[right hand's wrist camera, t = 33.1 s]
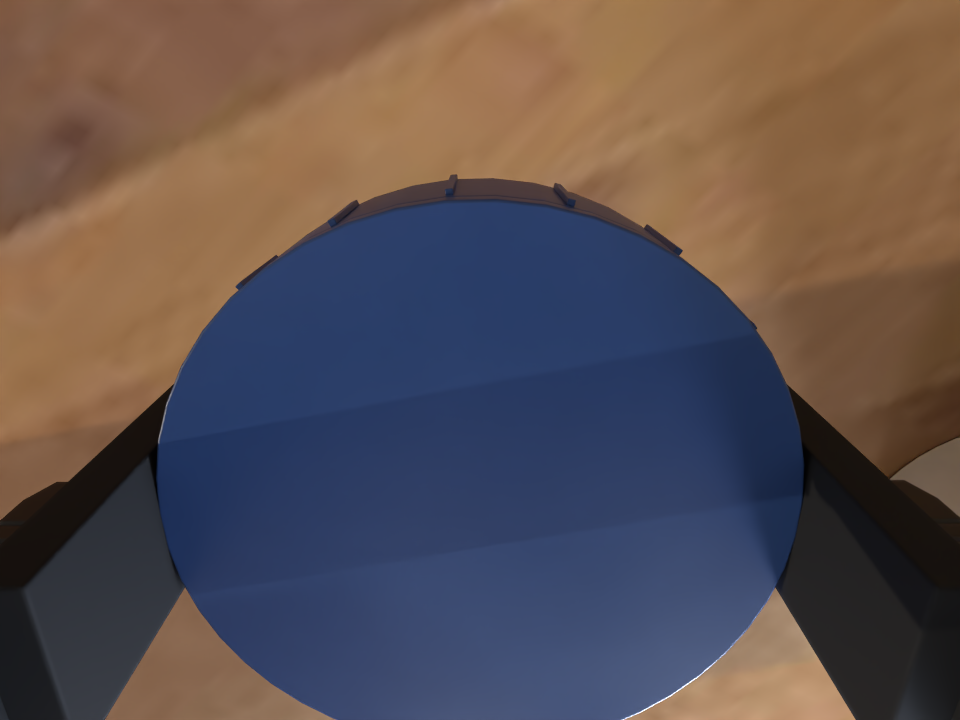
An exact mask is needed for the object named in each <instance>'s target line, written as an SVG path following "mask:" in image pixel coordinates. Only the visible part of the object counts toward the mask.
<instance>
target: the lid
mask: <svg viewBox="0 0 960 720" xmlns="http://www.w3.org/2000/svg"><path fill="white" fill-rule="evenodd" d="M682 251H683V250H681V249H680V248H679V247H677V246H676V245H675V244H673V243H672V242H671V241H669V240H668V239H667V238H665V237H664V236H663V235H661V234H660V233H659V232H657V231H656V230H654V229H653V228H652V227H650V226H649V225H646V226H645V228H643V227H642V226H640V225H638V224H636V223H635V222H633V221H631V220H629V219H628V218H626V217H624V216H623V215H621V214H619V213H617V212H616V211H614V210H612V209H610V208H609V207H606V206H604V205H601V204H599V203H596V202H594V201H592V200H589V199H587V198H584V197H582V196H579V195H577V194H574V193H572V192H568V191H567V190H566V189H565V188H564V187H563V186H562V185H561V184H557V183H555V184H554V188H552V187H548V186H544V185H540V184H536V183H530V182H521V181H512V180H503V179H494V178H488V179H458V178H457V175H451V176H450V178H449V180H446V181H439V182H433V183H427V184H421V185H415V186H410V187H407V188H404V189H401V190H397V191H394V192H391V193H387V194H384V195H381V196H378V197H374V198H372V199H370V200H368V201H366V202H364V203H362V204H359V203H358V201H357V200H355V201H353V202H351V203H350V204H349V205H347V206H346V207H345V208H343V209H342V210H341V211H340V212H338V213H337V214H336V215H335V216H333V217H332V218H331V219H329V220H328V221H327V222H326V223H324V224H323V225H321V226H320V227H318V228H317V229H315V230H314V231H312V232H311V233H309V234H307V235H306V236H305V237H304V238H302V239H301V240H300V241H298V242H297V243H296V244H294V245H293V246H292V247H291V248H289V249H288V250H287V251H285V252H284V253H283V254H281V255H280V256H279V257H278V256H277V255H275V256H274V257H273V258H271V259H270V260H269V261H267V262H266V263H265V264H263V265H262V266H261V267H259V268H258V269H257V270H255V271H254V272H253V273H251V274H250V275H249V276H247V277H246V278H245V279H244V280H242V281H241V282H240V283H239V284H238V285H237V286H236V288H237V289H238V291H237V292H236V293H235V294H234V295H233V296H232V297H230V299H229V300H228V301H227V302H226V303H225V305H224V306H223V307H222V308H221V309H220V310H219V312H218V313H217V314H216V315H215V316H214V318H213V319H212V320H211V321H210V322H209V324H208V325H207V326H206V327H205V328H204V330H203V331H202V332H201V334H200V336H199V337H198V339H197V341H196V342H195V344H194V346H193V347H192V349H191V351H190V352H189V354H188V356H187V357H186V359H185V361H184V362H183V364H182V366H181V368H180V371H179V373H178V376H177V378H176V380H175V383H174V385H173V388H172V390H171V393H170V395H169V398H168V400H167V403H166V408H165V412H164V416H163V421H162V425H161V430H160V434H159V439H158V451H157V468H156V484H157V495H158V504H159V509H160V514H161V519H162V523H163V528H164V532H165V536H166V541H167V545H168V549H169V552H170V554H171V557H172V559H173V561H174V564H175V566H176V569H177V571H178V573H179V576H180V578H181V581H182V582H183V584H184V586H185V587H186V589H187V591H188V593H189V594H190V596H191V598H192V599H193V601H194V603H195V604H196V606H197V608H198V610H199V611H200V612H201V614H202V615H203V616H204V617H205V619H206V620H207V621H208V623H209V624H210V625H211V627H212V628H213V629H214V630H215V632H216V633H217V634H218V636H219V637H220V638H221V639H222V640H223V641H224V642H225V643H226V644H227V645H228V646H229V647H230V648H231V649H232V650H233V651H234V652H235V653H236V654H237V655H238V656H239V657H240V658H241V659H242V660H243V661H244V662H245V663H246V664H247V665H249V666H250V667H251V668H252V669H254V670H255V671H256V672H257V673H259V674H260V675H261V676H262V677H264V678H265V679H266V680H267V681H269V682H270V683H271V684H273V685H274V686H276V687H277V688H279V689H281V690H282V691H284V692H285V693H287V694H289V695H290V696H292V697H293V698H295V699H296V700H298V701H300V702H301V703H303V704H305V705H307V706H309V707H311V708H313V709H315V710H317V711H319V712H321V713H323V714H325V715H327V716H329V717H331V718H334V719H336V720H624V719H626V718H628V717H631V716H633V715H636V714H638V713H640V712H642V711H644V710H646V709H648V708H649V707H651V706H653V705H655V704H657V703H659V702H661V701H662V700H664V699H666V698H668V697H670V696H671V695H673V694H674V693H676V692H677V691H679V690H680V689H681V688H683V687H684V686H686V685H687V684H689V683H690V682H692V681H693V680H695V679H696V678H698V677H699V676H700V675H701V674H702V673H704V672H705V671H706V670H707V669H708V668H709V667H710V666H712V665H713V664H714V663H715V662H716V661H717V660H719V659H720V658H721V657H722V656H723V655H724V654H725V653H726V652H727V651H728V650H729V649H730V648H731V647H732V646H733V645H734V643H735V642H736V641H737V640H738V639H739V638H740V637H741V636H742V635H743V634H744V633H745V631H746V630H747V629H748V628H749V627H750V625H751V624H752V622H753V621H754V620H755V618H756V617H757V615H758V614H759V612H760V611H761V610H762V608H763V607H764V605H765V604H766V602H767V601H768V600H769V598H770V596H771V594H772V592H773V590H774V588H775V586H776V584H777V582H778V580H779V578H780V577H781V575H782V573H783V571H784V569H785V566H786V563H787V560H788V557H789V555H790V552H791V549H792V546H793V543H794V540H795V536H796V531H797V527H798V522H799V517H800V513H801V508H802V503H803V485H804V458H803V450H802V442H801V433H800V426H799V422H798V419H797V415H796V412H795V409H794V405H793V402H792V398H791V395H790V391H789V388H788V386H787V384H786V382H785V380H784V378H783V376H782V374H781V371H780V369H779V367H778V365H777V363H776V361H775V359H774V357H773V355H772V353H771V351H770V350H769V348H768V347H767V345H766V344H765V342H764V341H763V339H762V338H761V337H760V335H759V334H758V332H757V331H756V329H757V327H756V326H755V324H754V323H753V322H752V321H750V320H749V319H748V318H747V317H746V316H745V315H744V314H743V312H742V311H741V310H740V309H739V308H738V307H737V306H736V305H735V304H734V303H733V302H732V301H731V300H730V299H729V298H728V296H727V295H726V294H725V293H724V292H723V291H722V290H721V289H720V288H719V287H718V286H717V285H716V284H714V283H713V282H712V281H711V280H709V279H708V278H707V277H705V276H704V275H703V274H702V273H700V272H699V271H698V270H697V269H695V268H694V267H693V266H691V265H690V264H689V263H688V262H686V261H685V260H684V259H683V258H681V257H680V256H679V255H680V254H681V253H682Z"/></svg>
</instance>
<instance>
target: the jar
mask: <svg viewBox="0 0 960 720" xmlns="http://www.w3.org/2000/svg"><path fill="white" fill-rule="evenodd" d="M890 480H905V481H907V482H909V483H911V484H913V485H915V486H916V487H918V488H920V489H922V490H924V491H926V492H928V493H929V494H931V495H933V496H935V497H937V498H938V499H939V500H941V501H942V502H943V503H944V504H945V505H946V506H948V507H949V508H950V509H951V510H952V511H953V512H954V513H956V514H957V515H958V516H959V517H960V437H959V438H956V439H953V440H951V441H949V442H947V443H944V444H942V445H940V446H937V447H935V448H934V449H932V450H930V451H928V452H927V453H925V454H923V455H921V456H919V457H918V458H916V459H915V460H913V461H912V462H911V463H909V464H908V465H906V466H905V467H903V468H902V469H901V470H900V471H898V472H897V473H896V474H895V475H894V476H893V477H891V478H890Z"/></svg>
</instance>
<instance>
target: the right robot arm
mask: <svg viewBox="0 0 960 720" xmlns="http://www.w3.org/2000/svg"><path fill="white" fill-rule="evenodd" d="M173 385H174V384H173ZM173 385H172V386H171V387H170V388H169V389H168V390H167V391H166V392H165V393H164V394H163V395H162V396H160V397H159V398H158V399H157V400H156V401H155V402H154V403H153V404H152V405H151V406H150V407H149V408H147V409H146V410H145V411H144V412H143V413H142V414H141V415H140V416H139V417H138V418H137V419H136V420H135V421H133V422H132V423H131V424H130V425H129V426H128V427H127V428H126V429H125V430H124V431H123V432H122V433H120V434H119V435H118V436H117V437H116V438H115V439H114V440H113V441H112V442H111V443H110V444H109V445H107V446H106V447H105V448H104V449H103V450H102V451H101V452H100V453H99V454H98V455H97V456H96V457H95V458H93V459H92V460H91V461H90V462H89V463H88V464H87V465H86V466H85V467H84V468H83V469H82V470H80V471H79V472H78V473H77V474H76V475H75V476H74V477H73V478H72V479H71V480H70V481H69V482H56V483H54V484H52V485H51V486H49V487H47V488H45V489H43V490H41V491H39V492H38V493H36V494H34V495H32V496H30V497H28V498H27V499H25V500H23V501H22V502H21V503H20V504H19V505H17V506H16V507H15V508H14V509H13V510H12V511H11V512H9V513H8V514H7V515H6V516H5V517H4V518H3V519H1V520H0V720H105V718H106V717H107V715H108V713H109V712H110V710H111V708H112V707H113V705H114V703H115V702H116V700H117V698H118V697H119V695H120V694H121V692H122V690H123V689H124V687H125V685H126V684H127V682H128V680H129V679H130V677H131V675H132V674H133V672H134V670H135V669H136V667H137V665H138V664H139V662H140V661H141V659H142V657H143V656H144V654H145V652H146V651H147V649H148V647H149V646H150V644H151V642H152V641H153V639H154V637H155V636H156V634H157V633H158V631H159V629H160V628H161V626H162V624H163V623H164V621H165V619H166V618H167V616H168V614H169V613H170V611H171V609H172V608H173V606H174V604H175V603H176V601H177V600H178V598H179V596H180V595H181V593H182V591H183V590H184V588H185V586H184V584H183V582H182V581H181V578H180V576H179V573H178V571H177V569H176V566H175V564H174V561H173V559H172V557H171V554H170V552H169V549H168V545H167V541H166V536H165V532H164V528H163V523H162V519H161V514H160V509H159V504H158V495H157V484H156V468H157V451H158V439H159V434H160V430H161V425H162V421H163V416H164V412H165V408H166V403H167V400H168V398H169V395H170V393H171V390H172V388H173ZM787 386H788V385H787ZM788 388H789V391H790V395H791V398H792V402H793V405H794V409H795V412H796V415H797V419H798V422H799V426H800V433H801V442H802V450H803V458H804V485H803V503H802V508H801V513H800V517H799V522H798V527H797V531H796V536H795V540H794V543H793V546H792V549H791V552H790V555H789V557H788V560H787V563H786V566H785V569H784V571H783V573H782V575H781V577H780V578H779V580H778V582H777V584H776V586H775V587H776V589H777V591H778V592H779V594H780V596H781V597H782V599H783V600H784V602H785V604H786V605H787V607H788V609H789V610H790V612H791V614H792V615H793V617H794V619H795V620H796V622H797V624H798V625H799V627H800V628H801V630H802V632H803V633H804V635H805V637H806V638H807V640H808V642H809V643H810V645H811V647H812V648H813V650H814V652H815V653H816V655H817V657H818V658H819V660H820V661H821V663H822V665H823V666H824V668H825V670H826V671H827V673H828V675H829V676H830V678H831V680H832V681H833V683H834V685H835V686H836V688H837V690H838V691H839V693H840V694H841V696H842V698H843V699H844V701H845V703H846V704H847V706H848V708H849V709H850V711H851V713H852V714H853V716H854V718H855V719H856V720H960V517H959V516H958V515H957V514H956V513H954V512H953V511H952V510H951V509H950V508H949V507H948V506H946V505H945V504H944V503H943V502H942V501H941V500H939V499H938V498H937V497H935V496H933V495H931V494H929V493H928V492H926V491H924V490H922V489H920V488H918V487H916V486H915V485H913V484H911V483H909V482H907V481H905V480H890V479H889V478H888V477H886V476H885V475H884V474H883V473H882V472H881V471H880V470H879V469H878V468H877V467H876V466H875V465H874V464H872V463H871V462H870V461H869V460H868V459H867V458H866V457H865V456H864V455H863V454H862V453H861V452H859V451H858V450H857V449H856V448H855V447H854V446H853V445H852V444H851V443H850V442H849V441H848V440H846V439H845V438H844V437H843V436H842V435H841V434H840V433H839V432H838V431H837V430H836V429H835V428H834V427H832V426H831V425H830V424H829V423H828V422H827V421H826V420H825V419H824V418H823V417H822V416H821V415H819V414H818V413H817V412H816V411H815V410H814V409H813V408H812V407H811V406H810V405H809V404H808V403H807V402H805V401H804V400H803V399H802V398H801V397H800V396H799V395H798V394H797V393H796V392H795V391H794V390H792V389H791V388H790V387H789V386H788Z"/></svg>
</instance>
